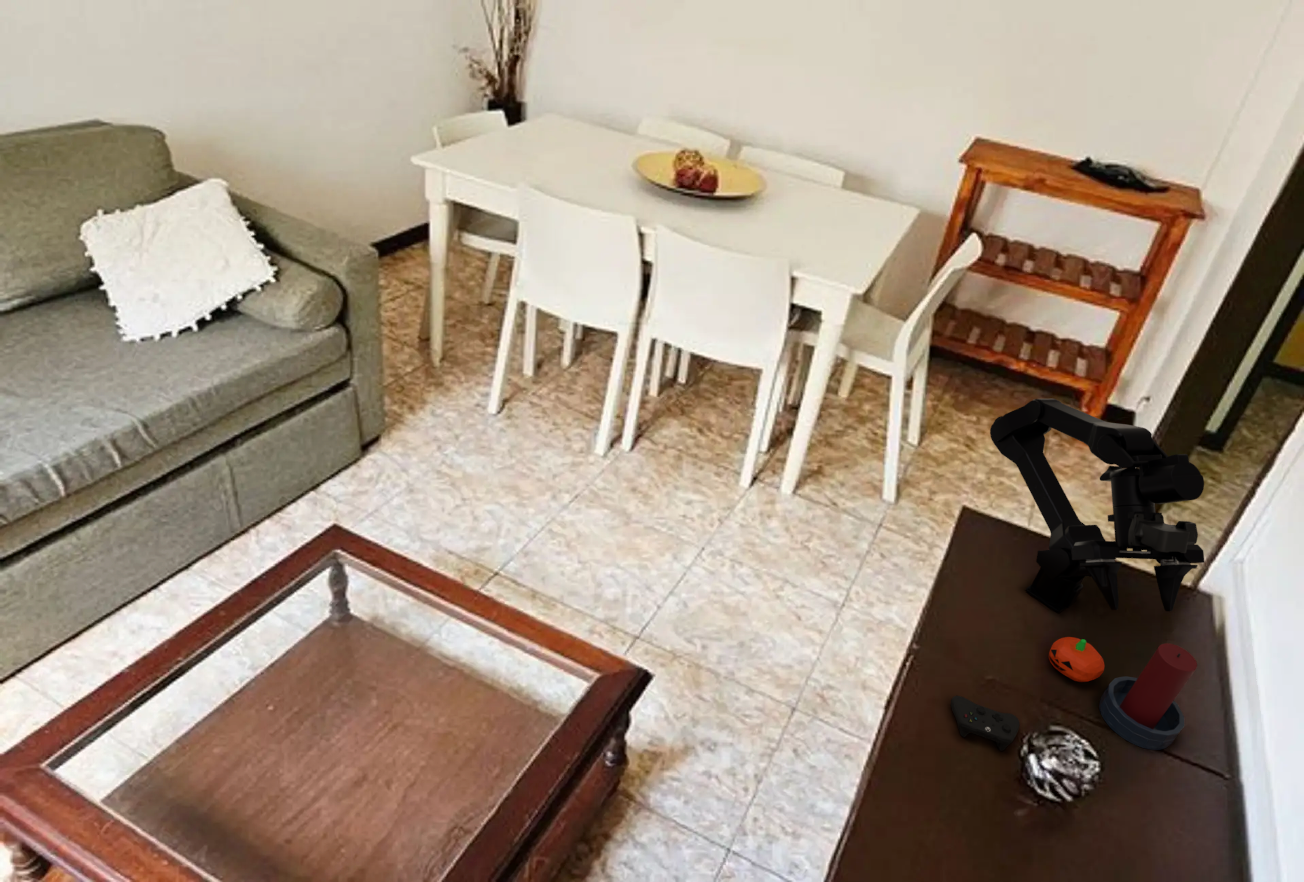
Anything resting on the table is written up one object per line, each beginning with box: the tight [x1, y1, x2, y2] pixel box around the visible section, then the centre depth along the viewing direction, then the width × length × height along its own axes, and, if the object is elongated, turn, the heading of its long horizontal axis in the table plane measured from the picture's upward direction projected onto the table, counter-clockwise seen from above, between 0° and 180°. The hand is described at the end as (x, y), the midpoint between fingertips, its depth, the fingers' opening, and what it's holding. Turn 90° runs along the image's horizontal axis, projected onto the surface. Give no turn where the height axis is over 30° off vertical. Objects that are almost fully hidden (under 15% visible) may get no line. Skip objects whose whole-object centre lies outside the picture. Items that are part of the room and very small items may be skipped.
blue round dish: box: [1098, 675, 1185, 751], centre depth 130 cm, size 11×11×4 cm
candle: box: [1119, 642, 1198, 729], centre depth 127 cm, size 5×5×14 cm
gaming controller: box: [950, 695, 1020, 752], centre depth 124 cm, size 10×5×6 cm
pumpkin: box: [1048, 636, 1105, 683], centre depth 136 cm, size 7×8×6 cm
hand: (1141, 610), depth 131 cm, fingers open, 9 cm apart
